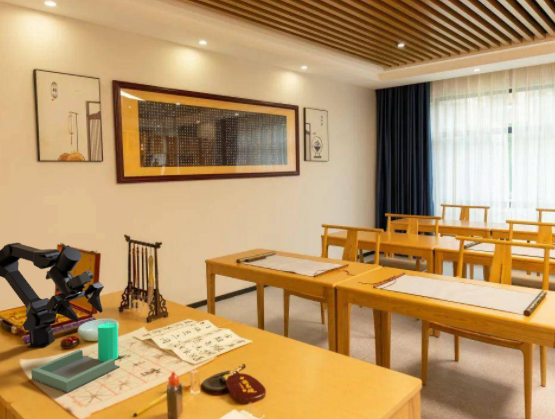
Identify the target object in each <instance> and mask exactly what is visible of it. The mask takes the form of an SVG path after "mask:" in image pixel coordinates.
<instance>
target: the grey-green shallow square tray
mask: <svg viewBox="0 0 555 419" xmlns="http://www.w3.org/2000/svg"><path fill="white" fill-rule="evenodd" d="M115 360H116V359H115ZM115 360H113V359H110V360H108V361H99V360H98V358H95V357H94V358H93V357H91V356H87V355H84V354H83V349H78V350H75V351H73V352H70V353H68V354H65V355H63V356H60V357H57V358H56V359H53V360H51V361H48V362H46V363H44V364H41V365H39V366H36V367H34V368H31V369H30V373H31V380H32V379H34V380H33V381H35V380H36V381H35V382H37V381H38V383H40V382H41V384H43V385H45V386H48V387H50V388H53V389H56V390H58V391H61V392H63V393H65V394H69V393H71V392H72V391H74V390H77V389H79V388H80V387H83V386H85V385H87V384H90V383H91V382H93V381H95V380H97V379H98V378H100V377H103V376H105V375H107V374H108V373H111V372H113V371H116V370H117V369H119V368H120V365H116V362H115Z"/></svg>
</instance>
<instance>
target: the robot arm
mask: <svg viewBox="0 0 555 419" xmlns="http://www.w3.org/2000/svg"><path fill="white" fill-rule="evenodd" d="M20 259H23V260H25V261H29V262H32V264H33V266H34V267H35V268H38V269H40V270H45V269H49V268H50V269H49V270H47V271H46V275H45V280H46V281H47V280H50V279H51V280H52V282H53V283H54V284H55V287H56V289H55V290H56V293H58V294H54V295H52V296H51V297H50V298H49V297H46V298H45V297H44V298H40V297H39V295H38V294H37V292H36V291H35V290H34V288H33V287H32V286H31V285H30V283H29V282H28V281H27V279H26V278H25V277H24V275H23V274H22V273H21V272H20V270H19V263H20V262H19V261H20ZM81 259H82V253H81V251H80V250H78V249H77V248H74V247H71V246H70V245H69V244H68V245H64V246H62V248H61V250H59V249H56V248H47V249H40V248H36V247H32V246H30V245H29V246H28V245H25V244H22V243H21V242H12V243H7V244H4V246H3V247H2V248H1V249H0V277H1V278H3V279H5V281H6V282H7V283H8V285H9V286H10V288H12V291H14V293H15V294H16V295H17V297H18V298H19V299H20V301H21V303H23V305H24V307H25V310H26V311H25V317H26V319H25V321H24V322H23V323H22V327H23V329H24V331H27V332H28V333H29V336H28V337H29V344H28V345H26V346H27V348H47V346H49V345H51V344H52V343H54V341H56V338H54V332H53V329H52V325H54V324H55V323H56V319H57V314H58V315H60V316H63V317H65V318H67V319H70V320H72V321H74V322H76V323H79V321H80V318H79V316H78V315H77V314H76V312H75V311H74V310H75V309H73V308H72V306H71V303H70V302H73V301H74V300H75V301H76V300H78V299H81V298H84V297H85V298H86V300H87V302H88V303H89V304H90V305H91V306H92V307H93V308H94V309H95V310H96V311H97V312H99V313H101V314H102V312H103V311H104V310H103V306H102V302H101V296H100V295H101V292H103V289H104V288H105V287H104V285H103V283H102V282H100V281H98V282H94V283H91V282H92V279H94V274H93V272H92V271H91V270H90V269H89V270H86V271H83V272H82V273H81V274H77V275H73V274H72V273H71V272H72V271H74V269H75V267H76V266H77V265H78V263H79V262H80V260H81ZM88 283H90V284H89V285H88V287H87V288H86V286H87V285H86V284H88ZM85 288H86V289H85Z"/></svg>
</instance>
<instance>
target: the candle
mask: <svg viewBox="0 0 555 419" xmlns="http://www.w3.org/2000/svg"><path fill="white" fill-rule="evenodd" d="M118 358H119V325H118V323H111V322H106V323H105V322H104V323H102V324H99V325H98V326H97V360H99V361H104V362H106V361H108V360H110V359H113V360H117V359H118Z"/></svg>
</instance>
